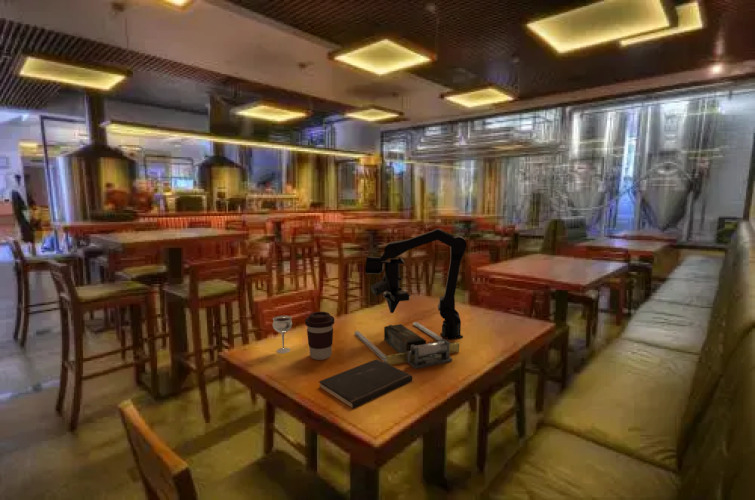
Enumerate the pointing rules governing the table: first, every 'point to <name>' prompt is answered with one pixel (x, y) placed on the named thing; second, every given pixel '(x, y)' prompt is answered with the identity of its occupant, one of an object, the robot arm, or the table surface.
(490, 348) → the table surface
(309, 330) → the coffee cup
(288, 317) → the wineglass
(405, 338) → the beverage carton
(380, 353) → the bay
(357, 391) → the hardcover book
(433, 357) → the winch
